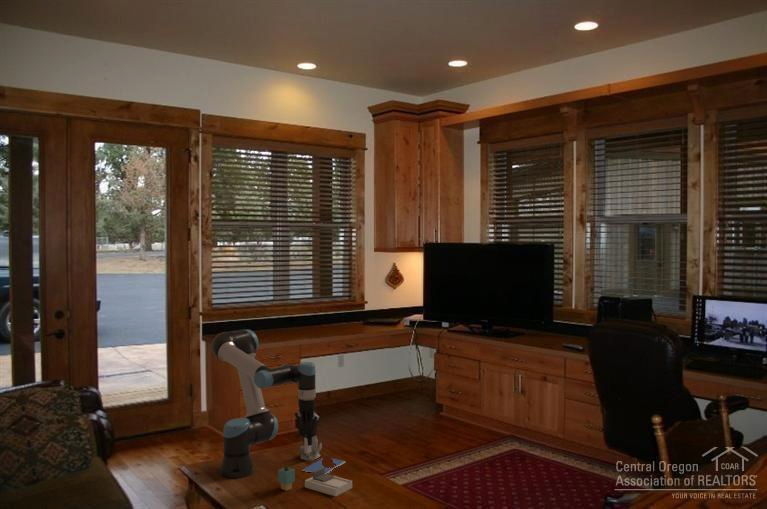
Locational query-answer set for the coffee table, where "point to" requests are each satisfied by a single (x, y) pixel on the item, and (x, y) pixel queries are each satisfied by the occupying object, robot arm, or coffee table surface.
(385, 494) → the coffee table surface
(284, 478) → the plug
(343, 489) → the grey tray
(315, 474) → the shutter
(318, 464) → the blue flat panel
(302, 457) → the crystal
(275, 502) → the coffee table surface
